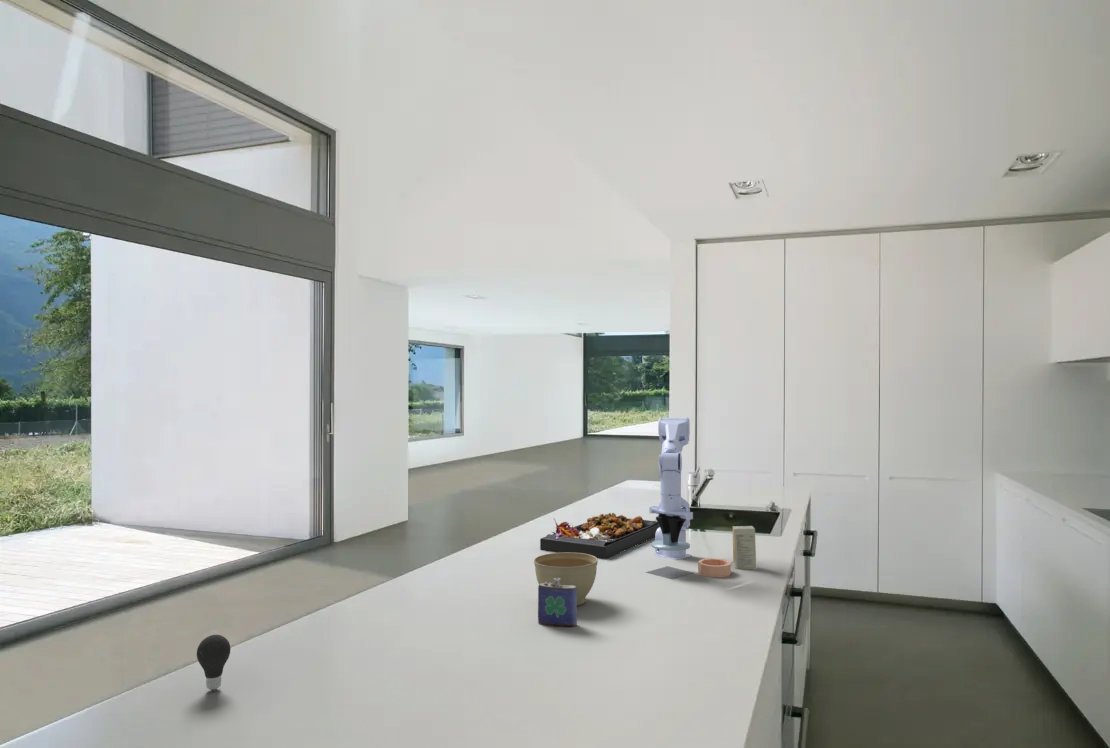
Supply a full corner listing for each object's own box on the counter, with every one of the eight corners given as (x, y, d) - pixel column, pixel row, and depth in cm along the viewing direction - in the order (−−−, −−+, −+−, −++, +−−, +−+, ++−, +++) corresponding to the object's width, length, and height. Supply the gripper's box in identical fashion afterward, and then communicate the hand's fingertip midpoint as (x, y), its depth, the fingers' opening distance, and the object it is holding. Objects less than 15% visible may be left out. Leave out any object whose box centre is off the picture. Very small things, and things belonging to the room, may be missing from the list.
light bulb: (203, 684, 136) (203, 630, 136) (235, 683, 136) (235, 629, 136) (191, 697, 130) (191, 641, 130) (224, 696, 131) (223, 640, 131)
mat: (645, 573, 211) (645, 572, 211) (667, 567, 218) (667, 566, 218) (672, 580, 204) (672, 579, 204) (694, 574, 211) (694, 572, 211)
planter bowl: (607, 597, 189) (606, 554, 189) (583, 615, 174) (582, 569, 174) (550, 589, 196) (550, 549, 196) (523, 607, 181) (522, 563, 181)
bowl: (692, 574, 211) (692, 562, 211) (710, 568, 217) (710, 556, 217) (718, 580, 204) (718, 568, 204) (736, 574, 210) (736, 562, 210)
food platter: (606, 561, 229) (605, 528, 229) (540, 551, 242) (540, 520, 242) (664, 534, 267) (663, 506, 267) (604, 527, 280) (604, 500, 280)
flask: (578, 624, 168) (577, 577, 168) (575, 628, 165) (574, 581, 166) (539, 620, 171) (539, 574, 171) (536, 625, 168) (535, 578, 168)
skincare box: (754, 566, 219) (753, 525, 219) (756, 570, 214) (756, 528, 215) (732, 566, 219) (731, 525, 219) (734, 569, 215) (734, 528, 215)
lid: (643, 545, 211) (643, 533, 212) (668, 540, 219) (667, 528, 219) (673, 552, 203) (673, 539, 203) (697, 546, 211) (697, 534, 211)
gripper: (642, 492, 214) (642, 539, 214) (681, 498, 203) (682, 547, 203) (658, 490, 219) (658, 535, 219) (697, 495, 208) (697, 543, 208)
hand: (670, 541), depth 211 cm, fingers closed on lid, 2 cm apart
